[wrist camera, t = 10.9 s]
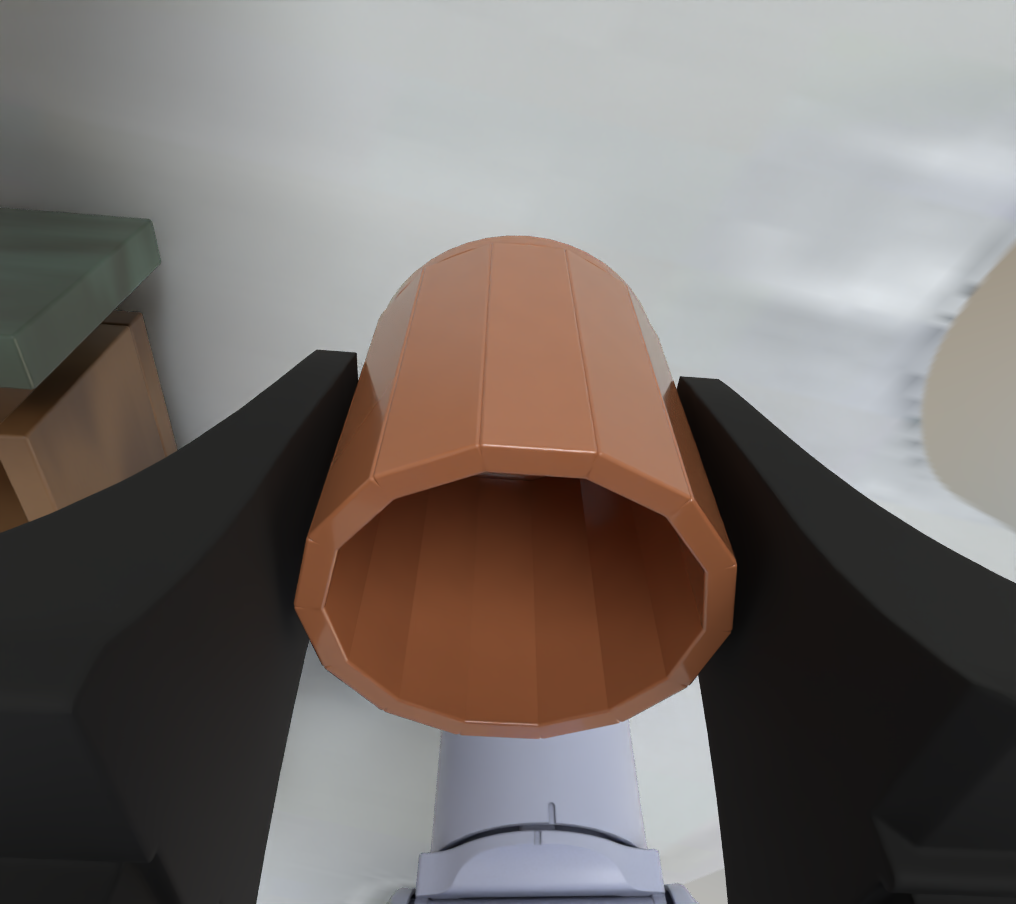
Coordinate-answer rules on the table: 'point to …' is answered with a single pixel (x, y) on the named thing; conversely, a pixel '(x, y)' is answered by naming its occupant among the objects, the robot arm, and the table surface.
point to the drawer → (74, 360)
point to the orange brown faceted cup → (516, 506)
